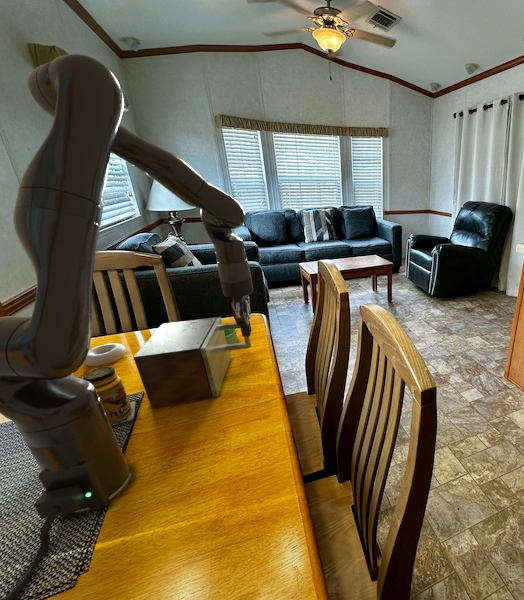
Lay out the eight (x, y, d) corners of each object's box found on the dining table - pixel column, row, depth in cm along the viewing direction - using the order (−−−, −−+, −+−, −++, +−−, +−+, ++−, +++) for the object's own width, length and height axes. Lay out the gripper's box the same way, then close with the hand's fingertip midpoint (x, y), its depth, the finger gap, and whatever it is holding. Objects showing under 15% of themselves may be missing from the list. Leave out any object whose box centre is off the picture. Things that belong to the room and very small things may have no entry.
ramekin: (220, 336, 111) (217, 324, 109) (244, 338, 110) (242, 326, 108) (201, 349, 102) (198, 337, 101) (228, 351, 101) (225, 339, 100)
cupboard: (225, 360, 97) (215, 317, 92) (212, 397, 81) (198, 348, 76) (176, 367, 93) (162, 323, 88) (151, 408, 77) (133, 357, 72)
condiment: (133, 419, 74) (116, 374, 69) (83, 435, 70) (62, 388, 65) (136, 401, 80) (120, 359, 75) (90, 415, 75) (70, 371, 71)
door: (254, 355, 99) (246, 314, 94) (246, 391, 83) (236, 344, 78) (226, 359, 97) (216, 317, 92) (213, 397, 81) (200, 348, 76)
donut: (91, 373, 91) (133, 356, 99) (86, 362, 90) (129, 346, 98) (79, 362, 96) (119, 347, 104) (74, 352, 95) (116, 338, 103)
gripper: (225, 271, 93) (236, 326, 99) (214, 286, 80) (228, 347, 87) (253, 268, 95) (263, 322, 101) (247, 283, 82) (258, 343, 89)
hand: (247, 334), depth 94 cm, fingers closed
